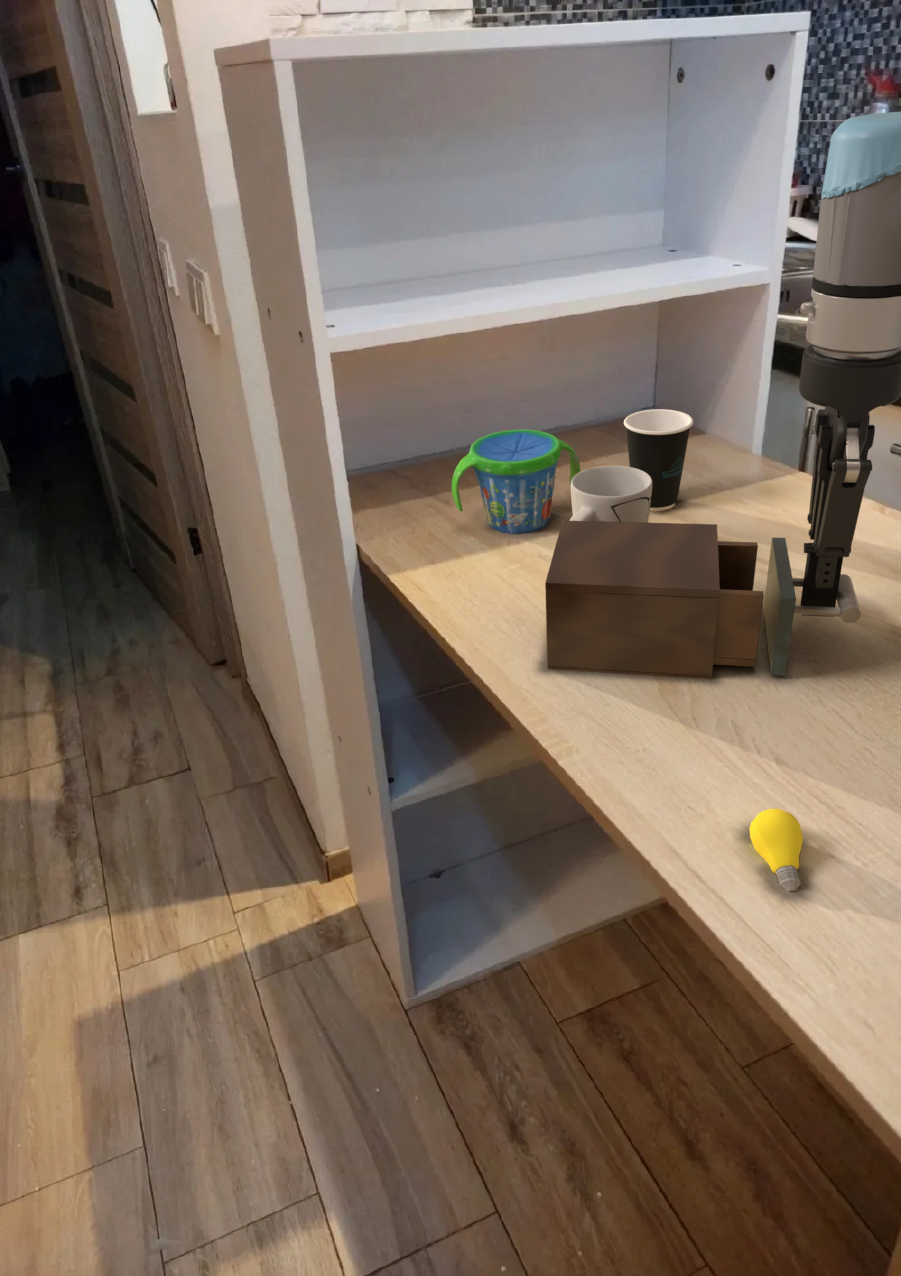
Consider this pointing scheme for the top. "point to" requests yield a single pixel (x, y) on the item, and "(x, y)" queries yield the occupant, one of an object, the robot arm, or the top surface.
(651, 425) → the dixie cup
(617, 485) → the mug
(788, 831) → the light bulb
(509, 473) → the snack cup
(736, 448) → the top surface
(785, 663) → the drawer
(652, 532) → the cabinet
